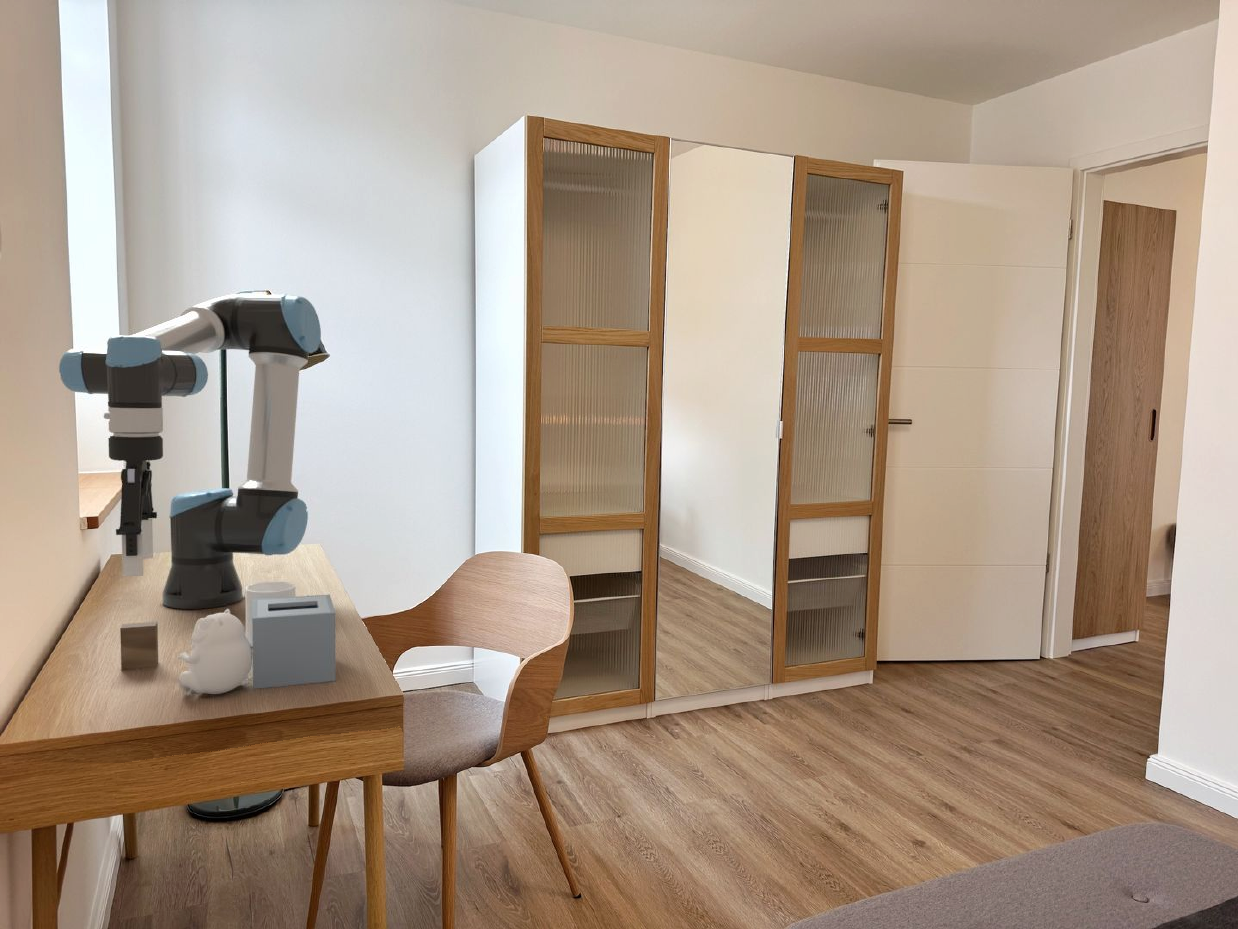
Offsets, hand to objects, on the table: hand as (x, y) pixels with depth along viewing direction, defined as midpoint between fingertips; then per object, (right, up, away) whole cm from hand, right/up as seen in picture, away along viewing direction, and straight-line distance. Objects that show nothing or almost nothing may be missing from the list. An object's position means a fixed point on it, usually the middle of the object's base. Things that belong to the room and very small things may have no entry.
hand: (138, 567), depth 139 cm
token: (-1, -16, +2) cm, 17 cm away
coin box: (+24, -17, +1) cm, 30 cm away
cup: (+14, -15, +18) cm, 28 cm away
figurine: (+17, -18, -8) cm, 26 cm away
